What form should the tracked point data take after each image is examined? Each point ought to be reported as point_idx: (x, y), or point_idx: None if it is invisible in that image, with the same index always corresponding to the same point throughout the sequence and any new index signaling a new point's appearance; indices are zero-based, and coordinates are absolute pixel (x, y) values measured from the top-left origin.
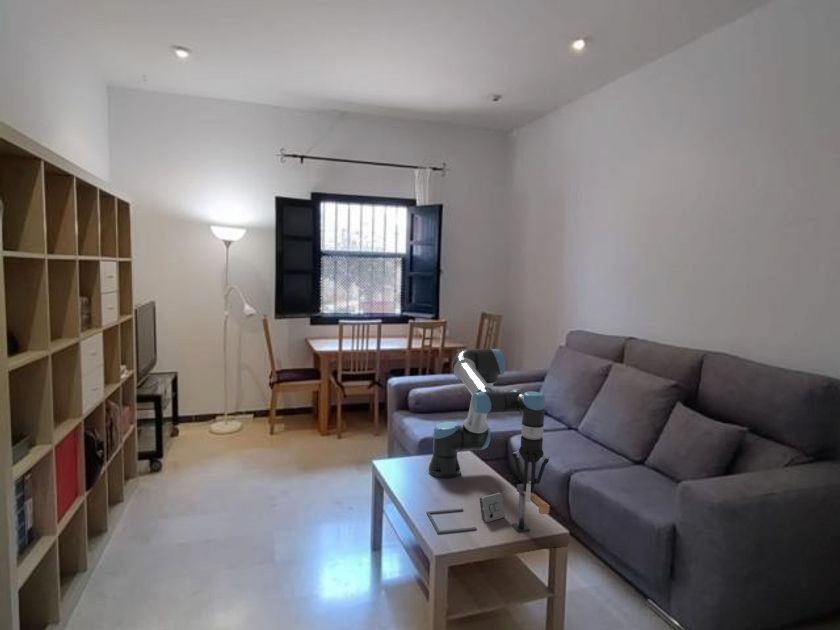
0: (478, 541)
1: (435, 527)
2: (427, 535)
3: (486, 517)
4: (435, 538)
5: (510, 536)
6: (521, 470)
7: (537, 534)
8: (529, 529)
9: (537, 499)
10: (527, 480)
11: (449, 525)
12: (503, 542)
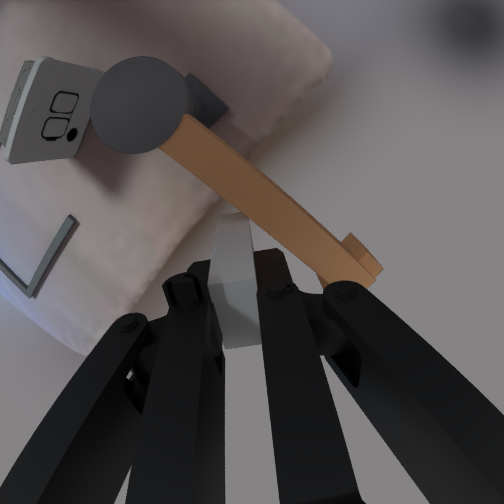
0: (115, 275)
1: (12, 280)
2: (25, 311)
3: (65, 156)
4: (42, 314)
5: (179, 189)
6: (115, 404)
7: (262, 117)
8: (226, 110)
9: (309, 261)
10: (216, 328)
11: (19, 242)
12: (176, 239)
